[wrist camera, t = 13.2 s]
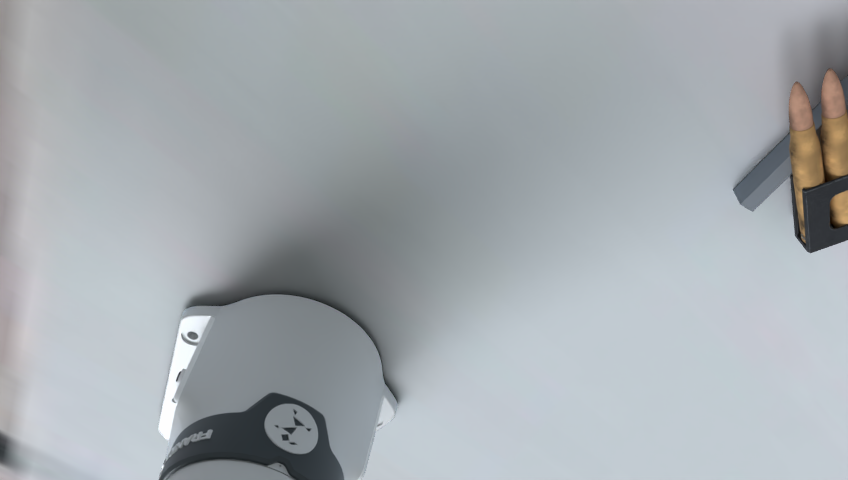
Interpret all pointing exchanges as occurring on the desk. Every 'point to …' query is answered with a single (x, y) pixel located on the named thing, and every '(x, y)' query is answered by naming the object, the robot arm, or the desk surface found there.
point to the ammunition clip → (819, 166)
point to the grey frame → (775, 166)
